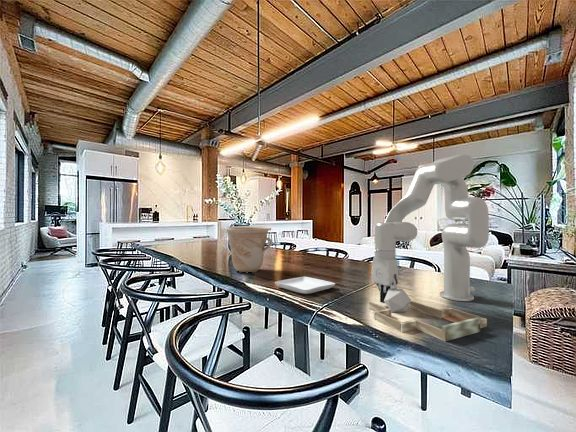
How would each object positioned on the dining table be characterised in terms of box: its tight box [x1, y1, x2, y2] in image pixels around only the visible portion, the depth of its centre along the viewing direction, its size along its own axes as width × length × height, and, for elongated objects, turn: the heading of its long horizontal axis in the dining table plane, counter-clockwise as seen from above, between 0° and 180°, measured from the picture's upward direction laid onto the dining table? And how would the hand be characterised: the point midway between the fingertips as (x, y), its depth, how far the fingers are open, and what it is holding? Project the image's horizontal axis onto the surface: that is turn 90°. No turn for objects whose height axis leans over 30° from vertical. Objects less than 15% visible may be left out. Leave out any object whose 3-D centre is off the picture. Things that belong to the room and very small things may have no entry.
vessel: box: [224, 225, 273, 274], centre depth 177 cm, size 29×29×30 cm
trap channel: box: [368, 300, 488, 342], centre depth 96 cm, size 28×30×4 cm
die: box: [384, 288, 412, 313], centre depth 104 cm, size 8×9×10 cm
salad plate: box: [274, 276, 336, 295], centre depth 135 cm, size 21×21×3 cm
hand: (384, 302), depth 110 cm, fingers closed
